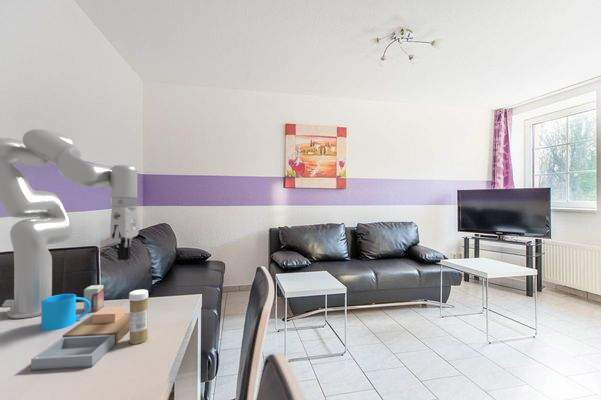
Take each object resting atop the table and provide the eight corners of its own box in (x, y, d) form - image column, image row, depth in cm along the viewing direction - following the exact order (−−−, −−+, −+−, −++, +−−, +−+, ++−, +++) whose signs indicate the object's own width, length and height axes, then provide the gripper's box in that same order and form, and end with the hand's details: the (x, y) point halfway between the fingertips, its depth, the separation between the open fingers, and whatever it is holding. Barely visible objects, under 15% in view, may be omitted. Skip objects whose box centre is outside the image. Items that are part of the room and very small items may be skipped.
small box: (97, 311, 101) (97, 288, 101) (83, 312, 100) (83, 289, 100) (104, 306, 105) (104, 284, 105) (90, 307, 104) (90, 285, 104)
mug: (41, 333, 84) (41, 304, 84) (41, 324, 90) (41, 297, 90) (92, 321, 92) (92, 295, 92) (88, 314, 98) (89, 289, 98)
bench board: (62, 346, 77) (62, 335, 77) (93, 324, 90) (93, 314, 90) (116, 344, 78) (116, 332, 78) (138, 322, 92) (138, 312, 92)
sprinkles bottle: (148, 335, 83) (148, 288, 83) (147, 342, 79) (148, 292, 79) (129, 338, 81) (129, 290, 81) (128, 346, 77) (128, 295, 77)
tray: (31, 370, 66) (31, 359, 66) (62, 347, 76) (62, 337, 76) (92, 367, 68) (92, 355, 68) (114, 344, 78) (115, 334, 78)
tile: (92, 323, 84) (92, 314, 84) (103, 315, 90) (103, 307, 90) (115, 322, 85) (115, 313, 85) (124, 314, 91) (124, 306, 91)
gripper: (126, 203, 89) (125, 264, 89) (145, 203, 104) (145, 254, 104) (99, 203, 88) (99, 264, 88) (122, 202, 103) (122, 255, 103)
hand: (124, 259), depth 96 cm, fingers closed
